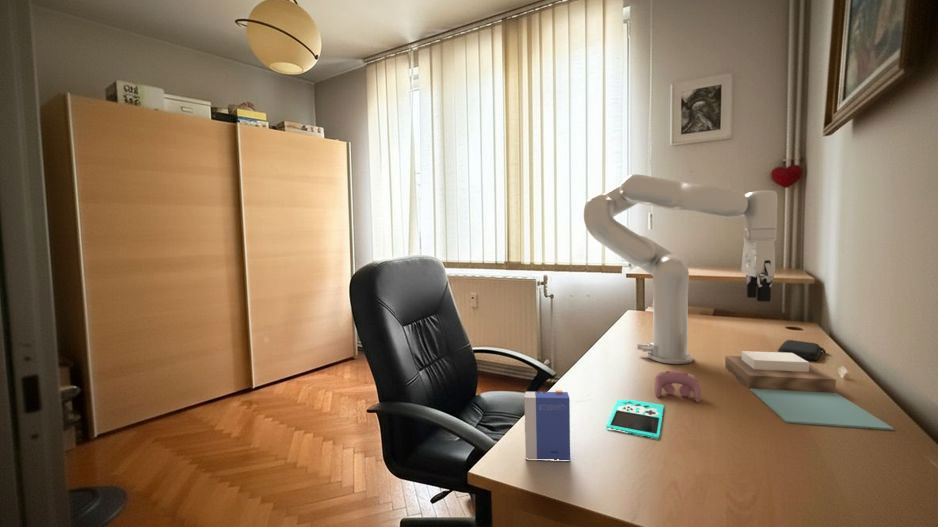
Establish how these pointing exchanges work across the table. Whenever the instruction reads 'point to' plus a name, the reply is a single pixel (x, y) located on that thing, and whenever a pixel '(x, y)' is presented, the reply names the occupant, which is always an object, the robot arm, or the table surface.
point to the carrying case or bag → (802, 349)
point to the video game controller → (677, 377)
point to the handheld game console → (637, 417)
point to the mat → (818, 409)
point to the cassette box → (775, 361)
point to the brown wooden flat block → (780, 377)
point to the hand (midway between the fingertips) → (758, 298)
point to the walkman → (547, 425)
